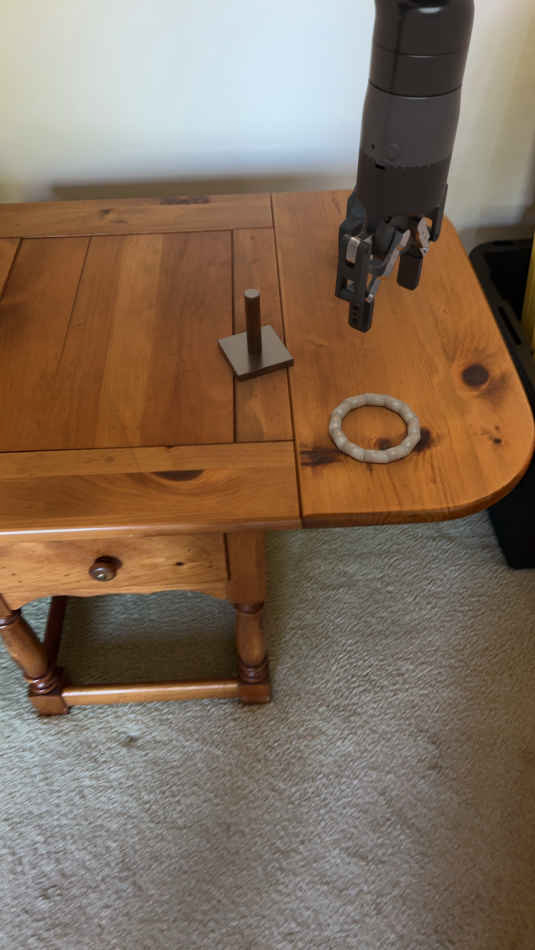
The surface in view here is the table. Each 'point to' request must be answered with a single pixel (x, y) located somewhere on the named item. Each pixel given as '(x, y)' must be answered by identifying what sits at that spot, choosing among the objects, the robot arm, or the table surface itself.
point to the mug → (354, 222)
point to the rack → (254, 345)
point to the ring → (368, 454)
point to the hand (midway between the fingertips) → (383, 306)
